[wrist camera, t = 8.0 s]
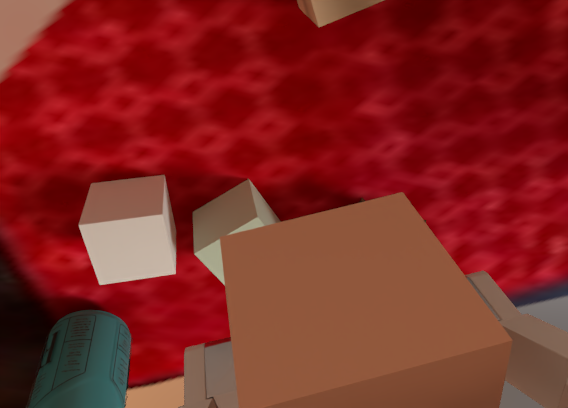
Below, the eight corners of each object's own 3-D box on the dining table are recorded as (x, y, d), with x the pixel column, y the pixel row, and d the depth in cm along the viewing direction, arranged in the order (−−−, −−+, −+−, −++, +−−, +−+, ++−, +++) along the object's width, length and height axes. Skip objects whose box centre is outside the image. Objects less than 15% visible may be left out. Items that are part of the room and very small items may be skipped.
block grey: (164, 174, 32) (162, 214, 28) (176, 229, 35) (175, 273, 31) (91, 182, 32) (78, 225, 28) (109, 239, 35) (99, 284, 31)
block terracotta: (402, 192, 12) (513, 340, 8) (404, 315, 15) (486, 470, 11) (219, 236, 12) (239, 413, 8) (256, 354, 15) (285, 527, 11)
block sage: (248, 178, 34) (257, 216, 30) (281, 221, 37) (293, 262, 33) (192, 211, 35) (194, 253, 31) (229, 251, 37) (234, 295, 33)
